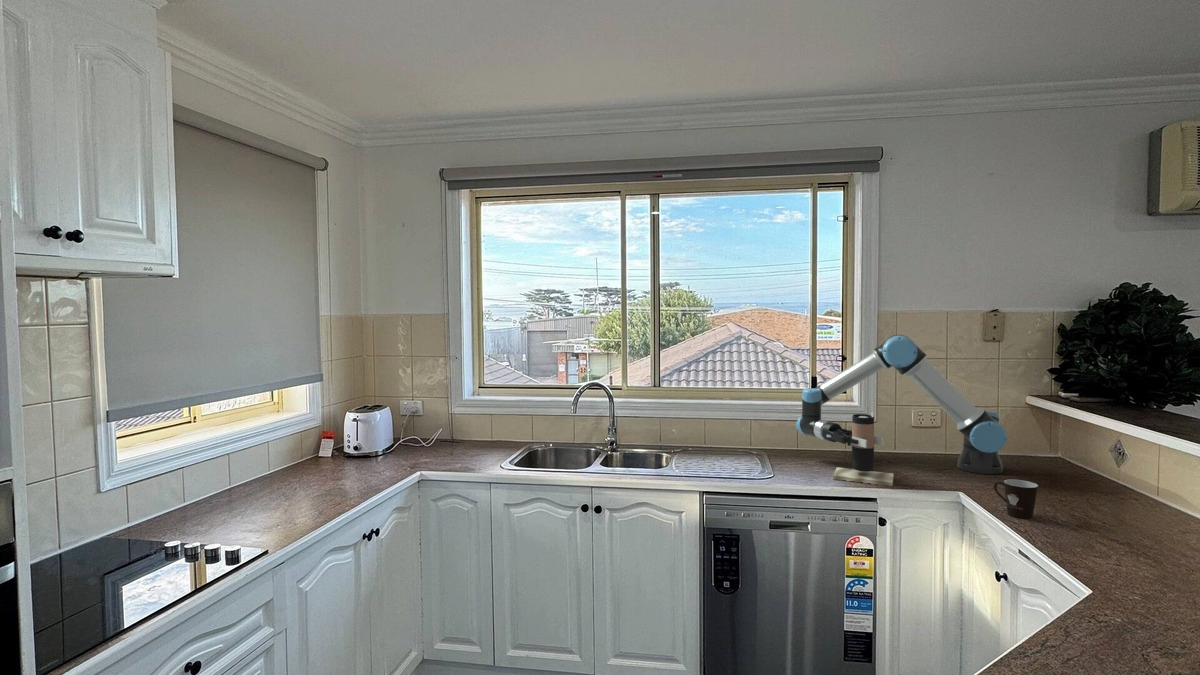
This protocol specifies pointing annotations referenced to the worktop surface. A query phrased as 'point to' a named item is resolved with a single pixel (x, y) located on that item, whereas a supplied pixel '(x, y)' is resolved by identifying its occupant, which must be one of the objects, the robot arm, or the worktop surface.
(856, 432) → the travel mug
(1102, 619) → the worktop surface
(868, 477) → the dock pad
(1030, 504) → the coffee mug
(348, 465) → the worktop surface
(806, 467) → the worktop surface
